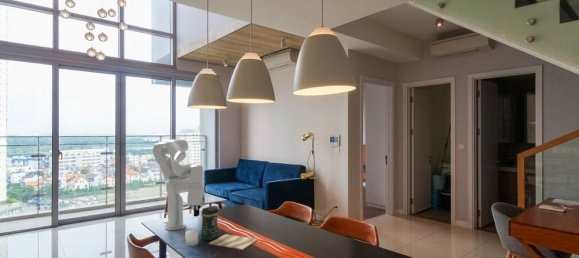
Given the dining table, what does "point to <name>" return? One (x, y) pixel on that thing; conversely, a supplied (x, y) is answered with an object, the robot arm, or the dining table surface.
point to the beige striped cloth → (233, 241)
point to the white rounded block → (191, 237)
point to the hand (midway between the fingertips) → (196, 215)
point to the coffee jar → (209, 223)
